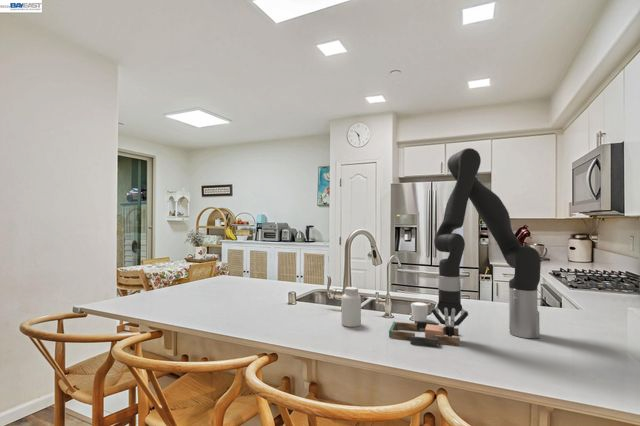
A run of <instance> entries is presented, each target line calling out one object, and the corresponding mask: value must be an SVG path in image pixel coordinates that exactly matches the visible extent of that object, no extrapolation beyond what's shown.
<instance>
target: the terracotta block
mask: <svg viewBox="0 0 640 426" xmlns="http://www.w3.org/2000/svg"><path fill="white" fill-rule="evenodd" d="M444 327H445V325H441V324H439V325H431V324H427V325H426V328H425V332H424V337H425V338H434V339H435V335H441V336H445V334H444Z"/></svg>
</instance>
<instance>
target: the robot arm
mask: <svg viewBox="0 0 640 426" xmlns="http://www.w3.org/2000/svg"><path fill="white" fill-rule="evenodd" d="M481 160H482V159H481V155H480V153H479V152H478V151H477V150H476V149H474V148H470V147H469V148H464V149H462V150H459V151H457V152H456V153H455V154H452V155H451V156H449V158H448V160H447V167H448V171H449V173H450V174H451V175H452V177H453V179H455V181H456V182H455V185H454V187H453V190H452V192H451V194H450V195H449V196H448V197H449V198H448V200H447V203H446V205H445V210H444V214H443V219H442V222H441V223H440V225H439V228H438V230H437V231H436V233H435V236H434V242H433V244H434V247H435V249H436V250H437V251H438V252H441V253H449V254H448V256H447V258H442V259H440V260H439V264H438V284H437V285H438V286H437V288H438V302H437V304H436V305H437V306H435V307H432V308H431V313H432V314H433V316H434V317H435V318H436V319H437V321H438V323H439V324H440V325H443V326H444V327H446V334H445V336H450V337H455V335H454V328H455V327H456V326H458V327H459V326H460V325H461V324H462V322H463V321H465V319H466V318H467V317H468V316H469V311H467V310H465V309H464V308H463V305H462V302H461V301H462V300H461V298H462V297H461V295H462V294H461V293H462V292H461V291H462V290H461V289H462V286H461V276H460V274H461V270H460V269H461V268H460V267H461V261H462V258H463V255H464V251H465V246H466V245H465V244H466V243H465V242H466V241H465V239H464V237H463V236H462V235H461V234H460V233H453V232H454V231H455V230H457V229H461V228H462V227H463V226H464V223H465V216H466V213H467V212H466V211H467V206H468V203H469V202H468V201H470V202H471V204H472V205H473V207H474V209H475V210H476V212H477V214H478V215H479V217H480V218H481V220H482V221H483V223H484V224H485V226H486V228H487V230H488V231H489V233H490V235H491V236H492V237H493V239H494V241H495V242H496V244H497V246H498V248H499V250H500V252H501V254H502V256H503V258H504V260H505V263H507V265H509V266H510V267H511V268H512V269H514V276H513V277H512V278H510V279H509V281H508V296H509V297H508V301H509V302H508V303H509V304H508V310H509V313H508V314H509V315H508V316H509V318H508V319H509V320H508V321H509V324H508V325H509V326H508V327H509V334H511V335H512V336H515V337H517V338H518V337H519V338H523V339H540V338H541V337H540V336H541V334H540V330H541V329H540V311H539V310H538V309H539V308H538V306H539V305H538V303H539V301H538V300H539V299H538V286H539V284H540V282H541V267H542V265H541V263H542V262H541V256H540V253H539V252H538V250H537V249H536V248H534V247H531V246H527V245H523V244H522V243H521V242H520V241H519V240H518V237H516V235H515V233H514V232H513V229H512V224H511V217H510V214H509V211H508V209H507V208H506V206H505V205H504V203H503V201H502V200H501V198H500V197H499V196H498V195H497V194H496V193H495V192H494V191H492V190H491V189H489V188H488V187H486V186H485V185H484V184H483V183H482V182H480V180H479V179H478V177H477V175H478V172H479V169H480V166H481ZM440 313H441V314H442V315H443V316H444V319H443V317H442V316H441V315H440ZM459 314H460V316H459V317H458V318H457V319H456V320H455V317H457V316H458V315H459ZM449 317H450V321H449Z"/></svg>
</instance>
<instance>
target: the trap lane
mask: <svg viewBox="0 0 640 426" xmlns="http://www.w3.org/2000/svg"><path fill="white" fill-rule="evenodd" d="M427 324H431V325H440V322H432V321H431V322H430V321H425V322H423V321H414V323H413V322H412V323H411V322H402V321H392V324H391V326H390V327H389V330H388V338H390V339H399V340H407V341H410V345H415V346H416V345H417V346H423V347H432V348H439V344H442V345H449V346H459V347H460V346H461V342H460V341H461V339H460V337H459V327H454V336H452V337H450V336H448V335H446V326H444V336H441V335H435V339H434V338H425V336H416V334H415V332H420V333H425V328H426V325H427ZM401 330H402V331H401ZM403 330H404V331H403ZM412 331H413V332H412Z"/></svg>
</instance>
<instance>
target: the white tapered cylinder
mask: <svg viewBox="0 0 640 426" xmlns="http://www.w3.org/2000/svg"><path fill="white" fill-rule="evenodd" d="M410 306H411V316H413V317H412V321H414V322H415V321H423V322H427V320H428V319H427V318H428V317H427V316H428V306H429V305H428V303H427V302H421V301H413V302H411V304H410Z"/></svg>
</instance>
